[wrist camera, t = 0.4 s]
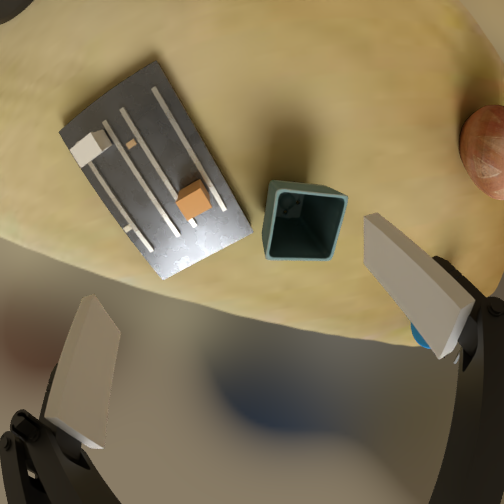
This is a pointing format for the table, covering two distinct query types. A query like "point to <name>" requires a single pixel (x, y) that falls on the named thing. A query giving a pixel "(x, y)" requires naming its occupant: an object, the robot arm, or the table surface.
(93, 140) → the fader ivory
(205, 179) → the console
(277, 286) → the table surface
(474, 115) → the jug
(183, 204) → the fader orange
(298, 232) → the flower pot
